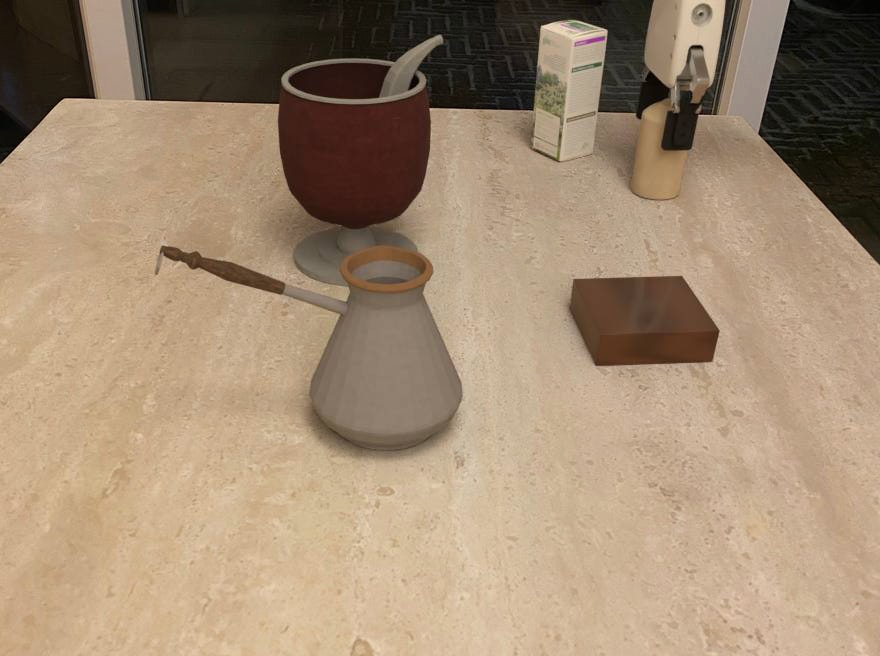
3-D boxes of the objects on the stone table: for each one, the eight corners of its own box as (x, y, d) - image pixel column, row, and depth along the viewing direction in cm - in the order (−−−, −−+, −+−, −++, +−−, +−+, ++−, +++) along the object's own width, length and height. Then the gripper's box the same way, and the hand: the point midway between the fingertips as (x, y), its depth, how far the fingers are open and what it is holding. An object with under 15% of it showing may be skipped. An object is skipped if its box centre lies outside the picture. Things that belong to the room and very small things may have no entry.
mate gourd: (314, 301, 92) (305, 74, 79) (267, 241, 101) (252, 31, 89) (465, 272, 97) (478, 54, 84) (406, 217, 107) (410, 16, 94)
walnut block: (676, 305, 92) (682, 275, 90) (712, 361, 84) (720, 330, 82) (569, 308, 91) (573, 278, 89) (595, 366, 83) (600, 334, 81)
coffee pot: (448, 377, 81) (457, 200, 72) (473, 461, 72) (486, 271, 63) (183, 391, 79) (157, 210, 70) (174, 479, 70) (143, 286, 61)
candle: (642, 178, 117) (657, 89, 110) (687, 189, 114) (704, 99, 108) (622, 192, 113) (636, 102, 107) (667, 204, 111) (684, 112, 104)
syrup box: (594, 154, 123) (611, 27, 114) (558, 163, 120) (572, 35, 111) (563, 140, 126) (577, 17, 117) (527, 149, 124) (539, 23, 115)
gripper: (763, -19, 93) (722, 162, 103) (702, -56, 106) (671, 107, 117) (684, -20, 92) (651, 163, 103) (633, -57, 106) (608, 108, 116)
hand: (662, 133), depth 110 cm, fingers open, 9 cm apart
